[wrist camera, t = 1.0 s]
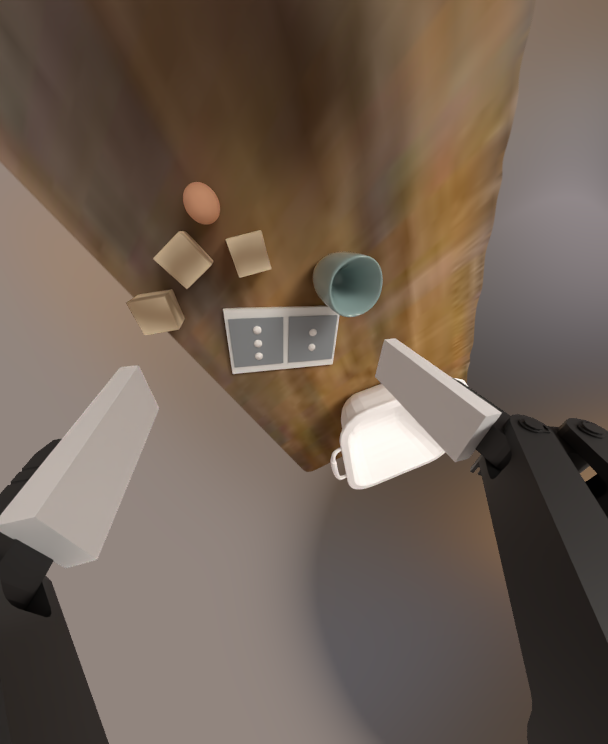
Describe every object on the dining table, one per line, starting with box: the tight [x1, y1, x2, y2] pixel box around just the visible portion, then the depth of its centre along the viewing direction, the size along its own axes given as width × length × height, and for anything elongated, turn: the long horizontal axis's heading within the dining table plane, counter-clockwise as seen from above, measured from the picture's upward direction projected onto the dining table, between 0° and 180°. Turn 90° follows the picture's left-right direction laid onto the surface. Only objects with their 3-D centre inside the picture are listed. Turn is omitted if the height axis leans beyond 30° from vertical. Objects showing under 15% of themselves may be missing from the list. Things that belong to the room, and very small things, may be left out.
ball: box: [183, 182, 220, 225], centre depth 26 cm, size 4×4×4 cm
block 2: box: [126, 289, 185, 336], centre depth 30 cm, size 4×4×4 cm
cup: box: [313, 252, 383, 317], centre depth 32 cm, size 8×8×10 cm
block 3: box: [226, 230, 271, 278], centre depth 30 cm, size 4×4×4 cm
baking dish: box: [330, 378, 468, 489], centre depth 53 cm, size 34×28×13 cm
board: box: [223, 306, 339, 374], centre depth 40 cm, size 12×20×1 cm, turn 87°
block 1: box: [153, 231, 214, 289], centre depth 28 cm, size 4×4×4 cm
